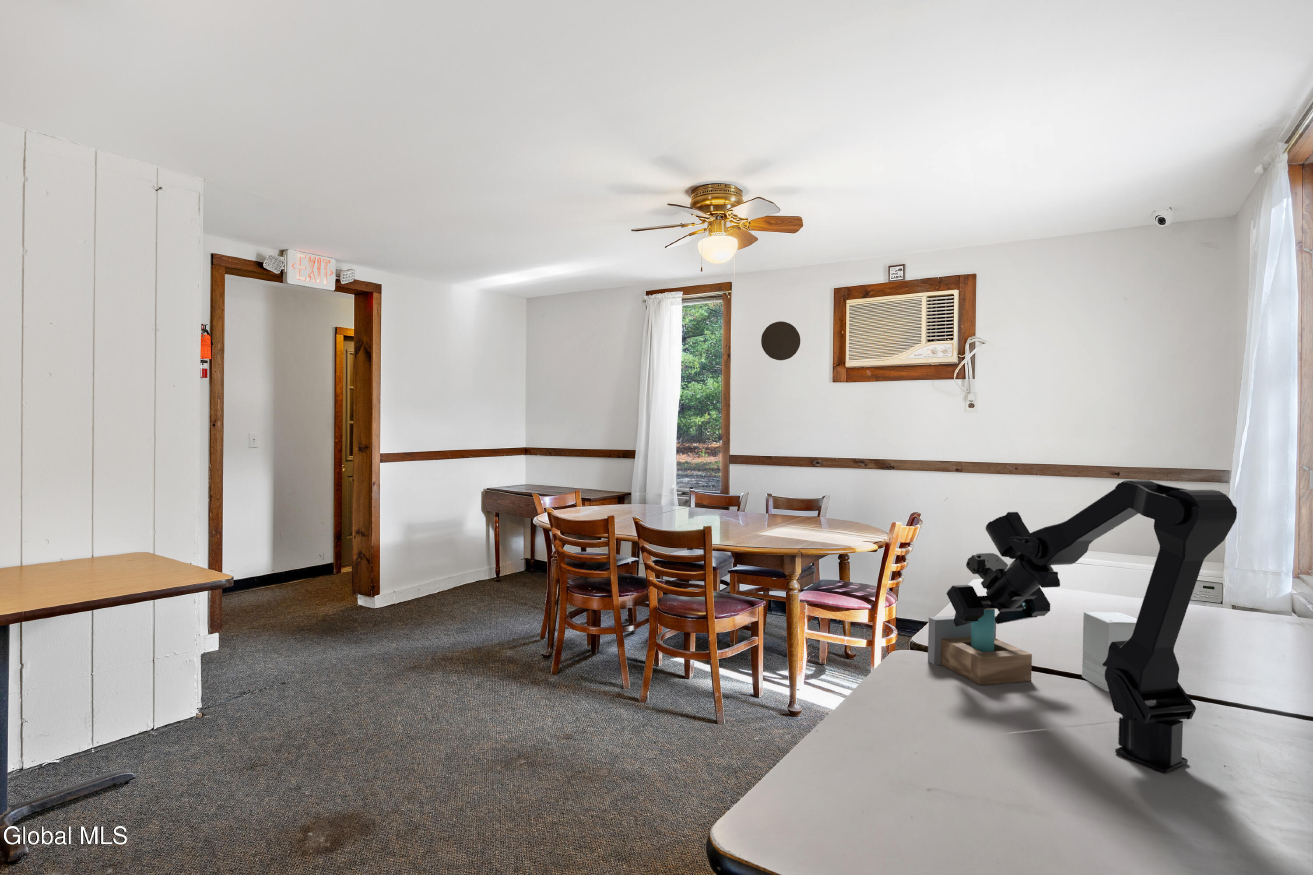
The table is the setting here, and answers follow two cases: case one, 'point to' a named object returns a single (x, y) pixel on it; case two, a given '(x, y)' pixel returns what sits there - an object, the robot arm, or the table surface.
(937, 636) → the backstop wall
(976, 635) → the dowel
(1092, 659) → the supplement box
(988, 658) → the hole block
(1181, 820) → the table surface
